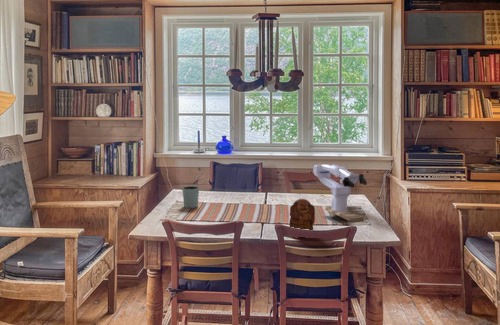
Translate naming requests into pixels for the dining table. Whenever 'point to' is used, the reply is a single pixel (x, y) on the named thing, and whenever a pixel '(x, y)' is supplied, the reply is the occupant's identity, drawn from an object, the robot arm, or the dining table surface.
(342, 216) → the plank
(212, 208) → the dining table surface
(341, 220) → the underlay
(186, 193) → the green plant pot
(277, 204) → the dining table surface
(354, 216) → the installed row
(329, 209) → the plank
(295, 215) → the wooden figurine
